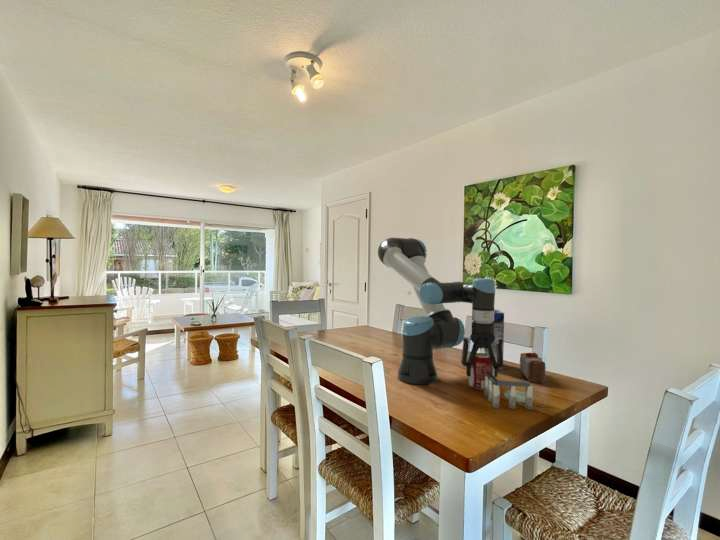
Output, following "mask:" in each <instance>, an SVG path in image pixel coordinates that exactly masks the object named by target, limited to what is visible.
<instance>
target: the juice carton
mask: <svg viewBox="0 0 720 540" xmlns="http://www.w3.org/2000/svg"><path fill="white" fill-rule="evenodd" d="M493 323H494V336H495V338H500V339H502V340H503V343H502V358H503V359H504V342H505V340H504V338H505V337H504V336H505V335H504V333H505V313H504V312H503V311H502V310H499V309H494V321H493ZM491 347H492V351H493V354H494V357H495V360H496V363H497V352H496V343H495V340H494V342H493V343H492V344H491ZM479 353H485V354H488V351H487V349H486V348H479ZM488 355H489V354H488ZM492 367H493V366H492ZM497 371H504V366H503V367H499V368H498V369H497Z"/></svg>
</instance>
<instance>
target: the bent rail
mask: <svg viewBox="0 0 720 540" xmlns="http://www.w3.org/2000/svg"><path fill="white" fill-rule="evenodd" d="M501 386H502V387H503V386H504V387H505V386H506V387H507V386H509V387H508V388H509V390H508V391H509V400H508V408H509V409H512V410H515V409H516V408H517V402H516V391H517V387H525V403H524V408H525V409H527V410H533V401H532V399H533V400H534V392H533V391H534V386H533V385H532V384H531V382H530V381H529V380H528V381H527V380H501V379H500V380H498V379H497V377H494V376H493V375H492V374H491V373H490V372H486V375H485V390H484V393H483V396H484V397H485V398H487V399H488V402H489V403H492V408H494V409H499V408H500V395H501V394H500V392H501V391H500V390H501V389H500V388H501Z"/></svg>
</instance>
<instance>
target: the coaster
mask: <svg viewBox="0 0 720 540" xmlns="http://www.w3.org/2000/svg"><path fill="white" fill-rule="evenodd" d="M525 393H526V391H521V390H516V403H519V404H525ZM503 397H504V398H505V399H507V400H508V401H509V390H505V391H504V392H503ZM532 402H534V398H533V399H532Z"/></svg>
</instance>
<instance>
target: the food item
mask: <svg viewBox="0 0 720 540" xmlns="http://www.w3.org/2000/svg"><path fill="white" fill-rule="evenodd" d="M519 370H520V373H522V375H523V376H524V377H525V378H526V379H527V380H528V381H529V382H530V383H540V382H541V384H543V383H545V382H546V363H545V362H544V361H543V358H542V357H539V354H537V353H536V352H523V353H522V352H521V353H520V357H519Z"/></svg>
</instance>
